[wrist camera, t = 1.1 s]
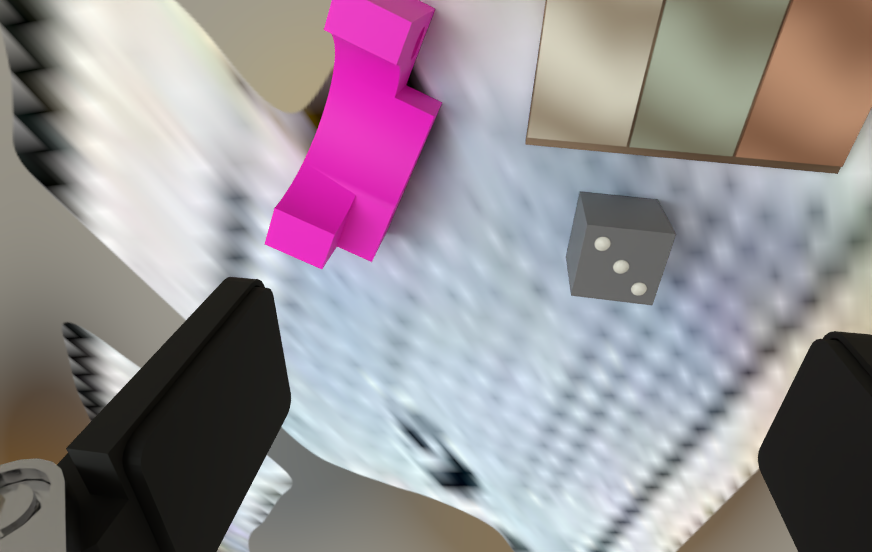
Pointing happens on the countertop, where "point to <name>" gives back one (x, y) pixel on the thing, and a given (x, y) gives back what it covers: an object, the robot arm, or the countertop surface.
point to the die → (618, 248)
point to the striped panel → (705, 79)
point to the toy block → (360, 135)
